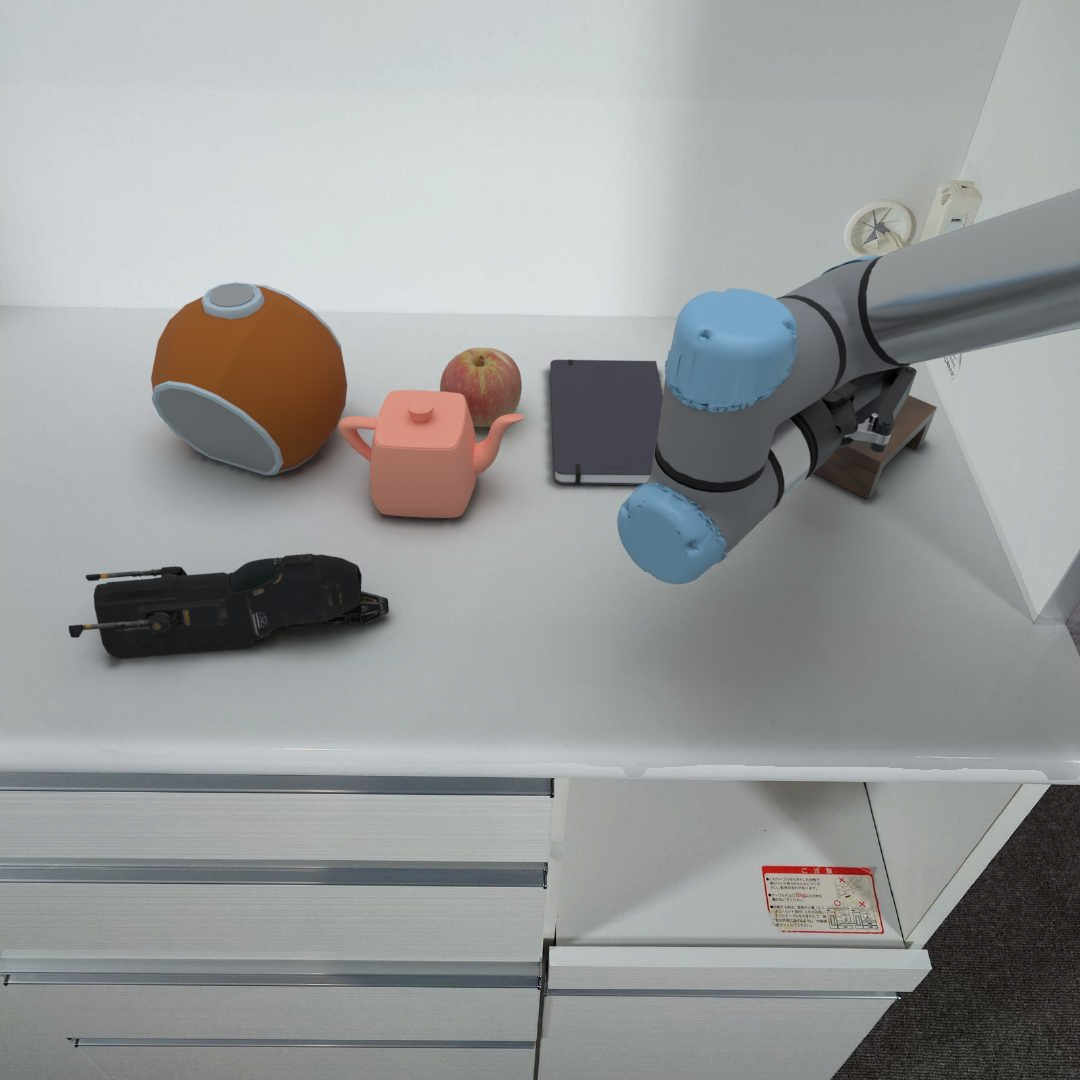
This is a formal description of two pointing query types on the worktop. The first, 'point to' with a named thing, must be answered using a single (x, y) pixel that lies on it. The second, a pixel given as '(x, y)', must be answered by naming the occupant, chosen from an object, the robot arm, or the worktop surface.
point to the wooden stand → (864, 466)
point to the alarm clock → (250, 378)
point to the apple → (484, 383)
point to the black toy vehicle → (226, 604)
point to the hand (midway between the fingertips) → (903, 331)
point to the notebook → (604, 420)
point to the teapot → (424, 452)
